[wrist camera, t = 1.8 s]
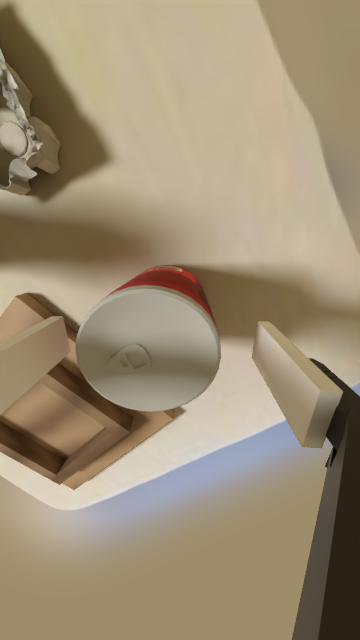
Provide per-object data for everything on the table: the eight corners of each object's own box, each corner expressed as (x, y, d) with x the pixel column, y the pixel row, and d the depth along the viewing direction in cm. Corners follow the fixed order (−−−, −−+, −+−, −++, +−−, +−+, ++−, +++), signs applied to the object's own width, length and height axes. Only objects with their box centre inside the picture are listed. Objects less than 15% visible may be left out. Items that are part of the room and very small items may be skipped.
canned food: (114, 296, 21) (43, 349, 10) (172, 245, 19) (156, 249, 8) (161, 347, 23) (141, 432, 13) (219, 306, 21) (250, 368, 10)
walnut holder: (-54, 402, 27) (-87, 424, 24) (26, 292, 21) (-3, 301, 18) (78, 479, 32) (66, 505, 29) (173, 409, 26) (171, 433, 23)
